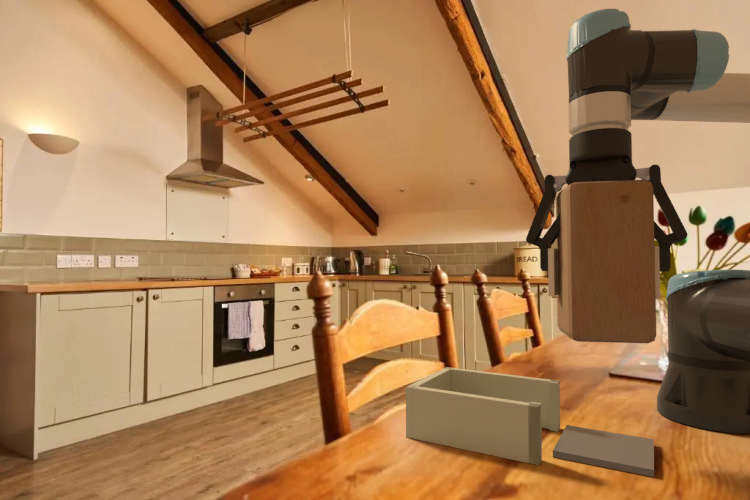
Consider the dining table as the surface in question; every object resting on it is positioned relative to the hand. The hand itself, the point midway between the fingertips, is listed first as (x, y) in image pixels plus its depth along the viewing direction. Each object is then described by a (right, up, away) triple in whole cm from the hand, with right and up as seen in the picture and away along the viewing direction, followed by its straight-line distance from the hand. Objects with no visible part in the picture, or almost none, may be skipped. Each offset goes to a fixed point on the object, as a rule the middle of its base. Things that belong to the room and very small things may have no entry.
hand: (602, 297), depth 62 cm
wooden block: (0, -6, 0) cm, 6 cm away
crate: (-14, -20, +6) cm, 25 cm away
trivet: (0, -20, -1) cm, 20 cm away
